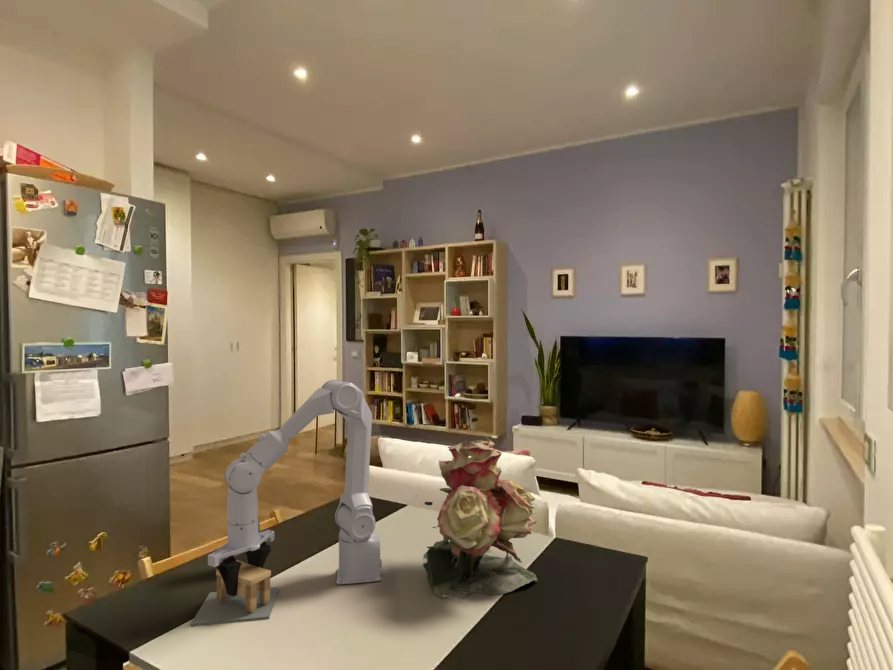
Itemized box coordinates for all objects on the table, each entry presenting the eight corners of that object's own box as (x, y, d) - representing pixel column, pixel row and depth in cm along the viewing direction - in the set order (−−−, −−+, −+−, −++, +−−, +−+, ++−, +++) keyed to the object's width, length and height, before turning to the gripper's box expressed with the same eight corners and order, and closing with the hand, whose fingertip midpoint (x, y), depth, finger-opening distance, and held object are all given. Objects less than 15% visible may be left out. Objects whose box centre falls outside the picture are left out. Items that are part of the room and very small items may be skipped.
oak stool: (215, 599, 102) (216, 569, 102) (236, 588, 107) (236, 560, 107) (250, 612, 98) (250, 581, 98) (270, 600, 102) (271, 570, 102)
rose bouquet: (439, 612, 99) (437, 457, 99) (415, 551, 128) (414, 431, 128) (561, 596, 105) (559, 450, 105) (512, 541, 133) (511, 426, 134)
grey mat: (279, 588, 109) (279, 586, 109) (269, 618, 97) (269, 616, 97) (209, 594, 107) (209, 592, 107) (190, 626, 95) (190, 623, 95)
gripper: (225, 536, 94) (225, 610, 94) (284, 512, 107) (285, 577, 107) (200, 530, 97) (200, 601, 97) (260, 507, 110) (261, 570, 110)
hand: (243, 588), depth 102 cm, fingers closed on oak stool, 5 cm apart
